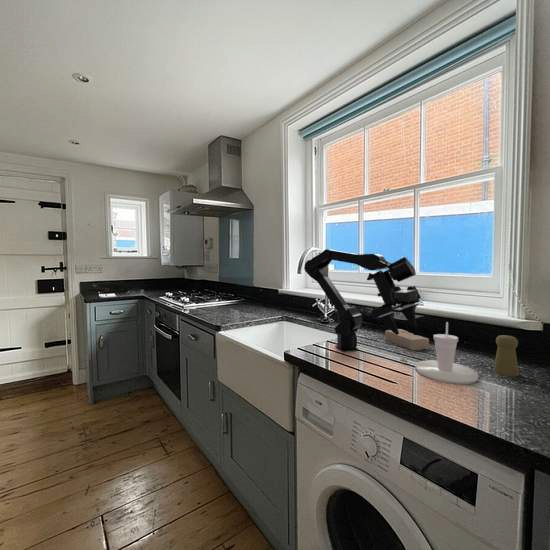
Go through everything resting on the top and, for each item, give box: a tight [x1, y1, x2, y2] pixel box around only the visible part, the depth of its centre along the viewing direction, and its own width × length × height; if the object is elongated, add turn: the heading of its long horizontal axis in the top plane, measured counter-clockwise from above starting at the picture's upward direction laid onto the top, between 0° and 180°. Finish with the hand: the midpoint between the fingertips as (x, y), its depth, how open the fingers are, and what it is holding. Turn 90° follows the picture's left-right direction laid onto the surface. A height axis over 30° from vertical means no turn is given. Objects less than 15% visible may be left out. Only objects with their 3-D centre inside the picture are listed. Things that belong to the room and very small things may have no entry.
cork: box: [492, 334, 520, 377], centre depth 87 cm, size 6×6×11 cm
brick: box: [384, 328, 430, 351], centre depth 118 cm, size 17×8×5 cm, turn 17°
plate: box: [414, 359, 479, 385], centre depth 87 cm, size 16×16×1 cm
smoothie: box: [433, 321, 459, 371], centre depth 87 cm, size 6×6×14 cm
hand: (406, 330), depth 97 cm, fingers open, 9 cm apart
